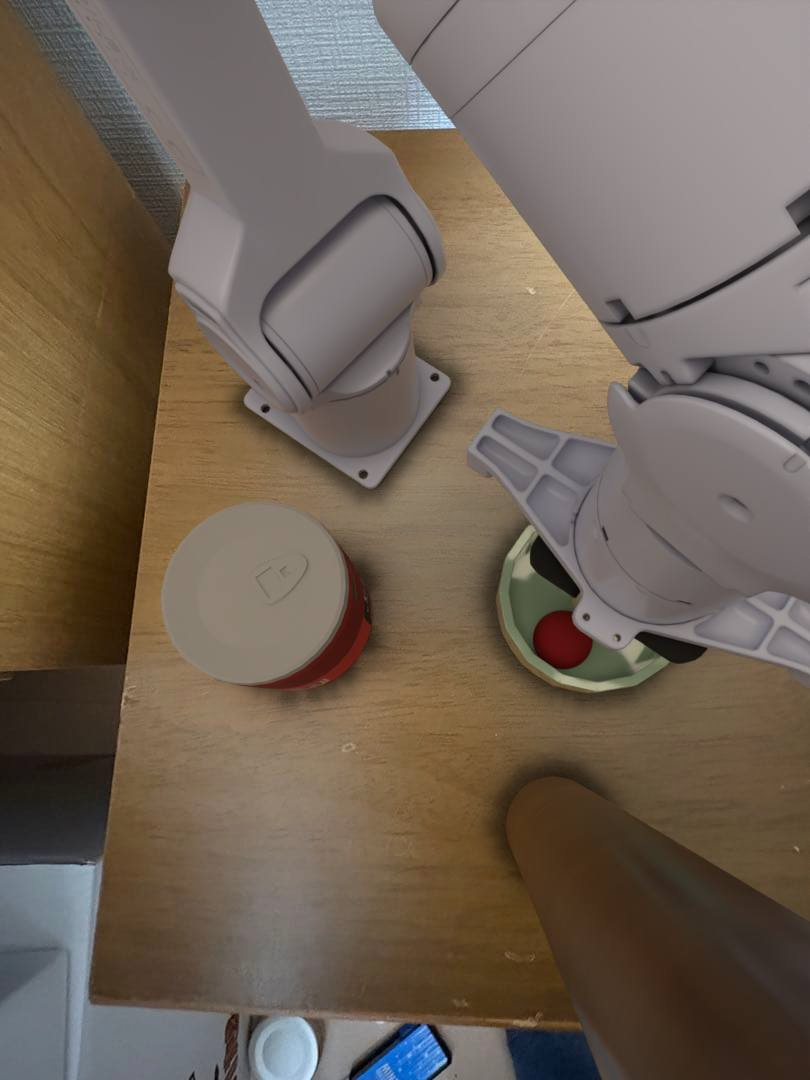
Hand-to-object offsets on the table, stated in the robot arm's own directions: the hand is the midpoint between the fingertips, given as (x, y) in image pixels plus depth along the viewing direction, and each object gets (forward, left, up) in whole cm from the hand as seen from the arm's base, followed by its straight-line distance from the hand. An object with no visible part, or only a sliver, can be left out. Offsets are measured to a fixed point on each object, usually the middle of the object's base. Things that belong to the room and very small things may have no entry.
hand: (608, 583), depth 36 cm
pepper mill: (+5, -10, -7) cm, 14 cm away
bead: (0, -3, -5) cm, 6 cm away
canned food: (-12, -9, -7) cm, 17 cm away
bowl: (0, 0, -7) cm, 7 cm away
